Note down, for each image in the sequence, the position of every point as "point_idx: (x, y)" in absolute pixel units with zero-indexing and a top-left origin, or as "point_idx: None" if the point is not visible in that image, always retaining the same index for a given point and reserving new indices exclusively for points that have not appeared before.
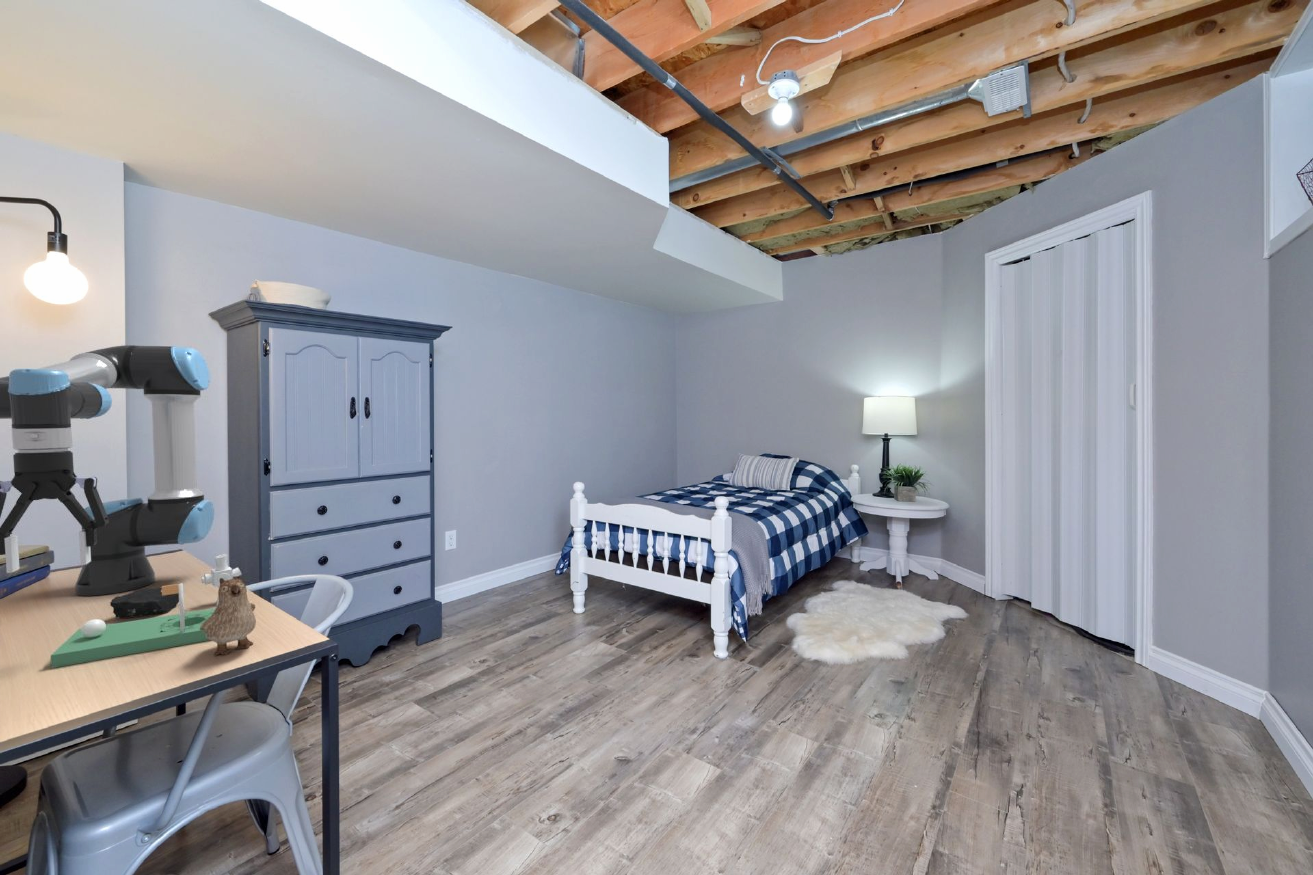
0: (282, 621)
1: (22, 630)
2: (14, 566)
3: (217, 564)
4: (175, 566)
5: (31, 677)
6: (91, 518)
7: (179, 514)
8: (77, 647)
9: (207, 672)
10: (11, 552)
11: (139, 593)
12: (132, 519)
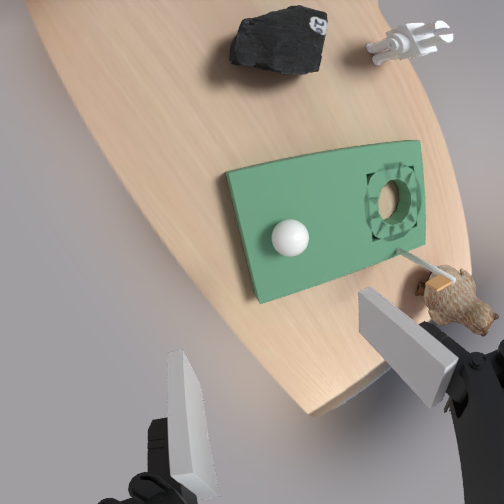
0: (456, 198)
1: (81, 85)
2: (197, 388)
3: (429, 39)
4: None
5: (247, 319)
6: (498, 389)
7: None
8: (282, 279)
9: None
10: (209, 443)
11: (283, 39)
12: None
